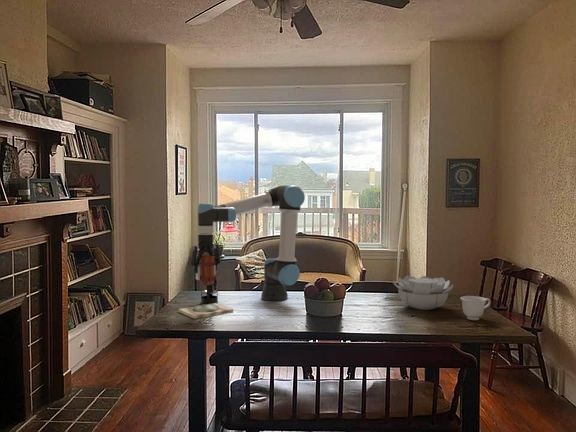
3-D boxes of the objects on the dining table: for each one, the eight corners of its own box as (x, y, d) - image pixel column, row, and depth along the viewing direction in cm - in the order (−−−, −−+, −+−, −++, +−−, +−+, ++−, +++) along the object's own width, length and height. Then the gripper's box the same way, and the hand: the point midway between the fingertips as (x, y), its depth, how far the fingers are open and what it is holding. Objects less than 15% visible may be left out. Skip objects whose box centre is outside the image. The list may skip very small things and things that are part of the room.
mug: (217, 285, 249) (217, 255, 248) (200, 286, 246) (200, 256, 245) (212, 280, 263) (212, 251, 262) (197, 281, 260) (196, 252, 259)
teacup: (496, 321, 240) (497, 300, 239) (467, 322, 237) (468, 301, 237) (482, 314, 252) (483, 295, 251) (455, 316, 249) (455, 296, 249)
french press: (216, 305, 270) (216, 262, 269) (199, 305, 270) (199, 262, 268) (219, 300, 282) (219, 259, 280) (202, 300, 281) (202, 259, 280)
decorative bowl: (430, 299, 285) (430, 273, 284) (463, 312, 257) (464, 283, 256) (382, 303, 276) (383, 276, 275) (411, 316, 248) (412, 286, 247)
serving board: (216, 305, 268) (216, 301, 268) (233, 311, 255) (233, 307, 255) (178, 312, 255) (178, 307, 254) (194, 318, 241) (194, 314, 241)
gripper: (219, 232, 262) (219, 275, 263) (183, 234, 249) (183, 279, 250) (227, 233, 256) (227, 277, 258) (190, 235, 243) (190, 282, 244)
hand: (205, 278), depth 254 cm, fingers closed on mug, 8 cm apart
